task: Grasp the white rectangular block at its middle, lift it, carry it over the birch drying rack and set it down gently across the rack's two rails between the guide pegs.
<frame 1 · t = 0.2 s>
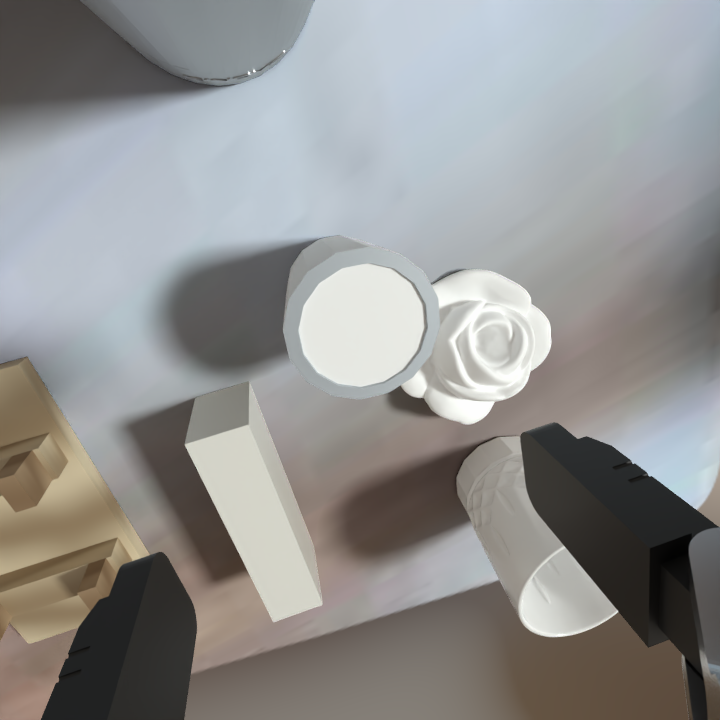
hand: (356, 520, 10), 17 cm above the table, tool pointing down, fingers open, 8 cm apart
rose: (462, 340, 29), on the table
white rectangular block: (261, 478, 30), on the table
white cup: (496, 471, 34), on the table
white short tapered cylinder: (337, 285, 26), on the table
rack: (31, 511, 27), on the table
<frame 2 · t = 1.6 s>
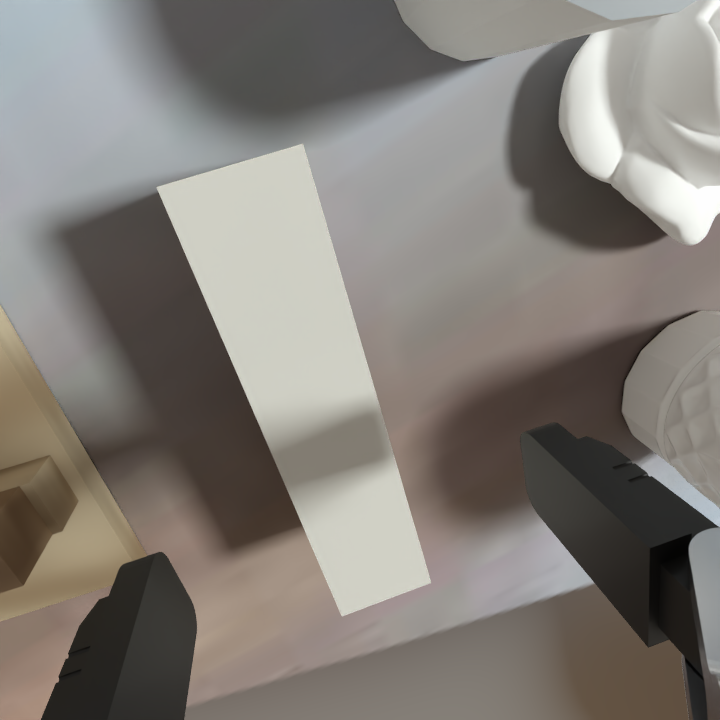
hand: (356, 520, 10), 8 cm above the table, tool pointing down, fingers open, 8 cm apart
rose: (663, 100, 16), on the table
white rectangular block: (309, 362, 17), on the table
white cup: (682, 378, 21), on the table
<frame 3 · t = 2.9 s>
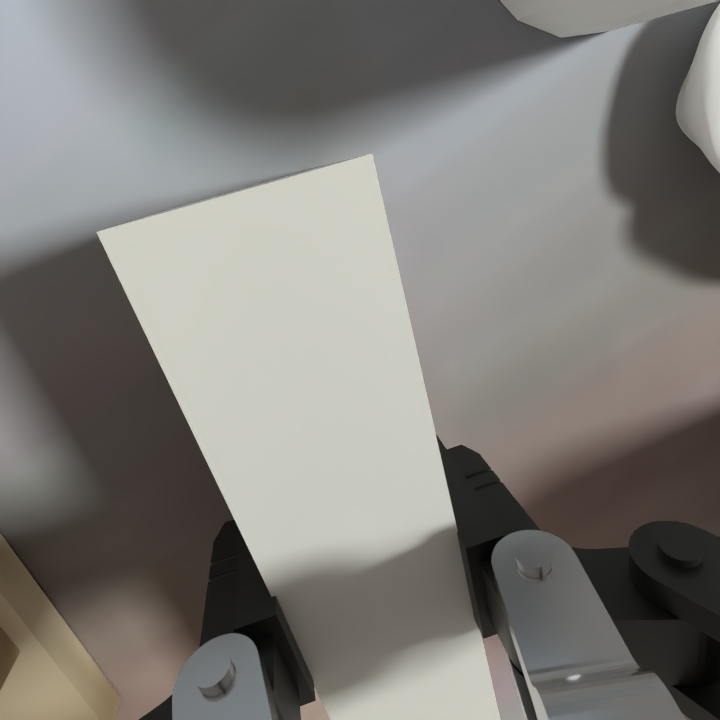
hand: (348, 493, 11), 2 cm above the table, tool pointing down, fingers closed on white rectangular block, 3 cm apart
white rectangular block: (338, 452, 13), on the table, touching gripper
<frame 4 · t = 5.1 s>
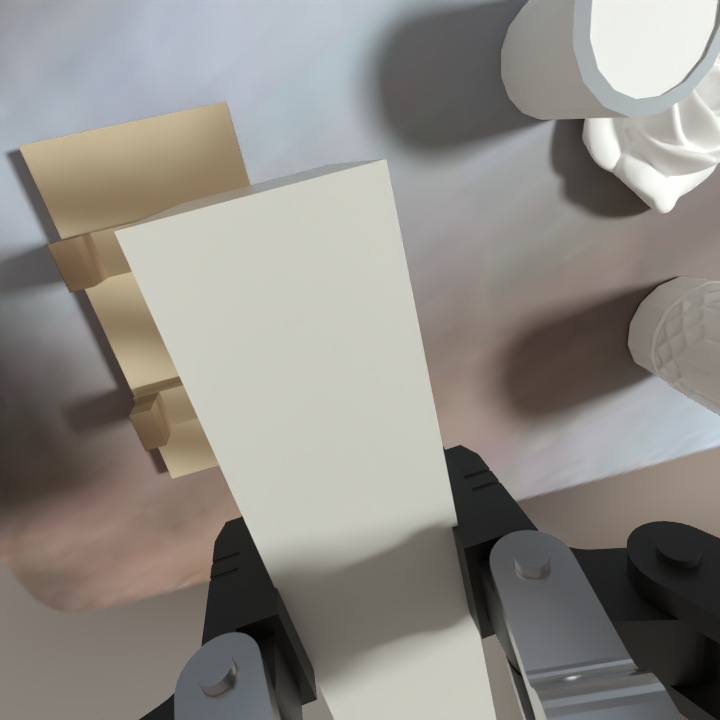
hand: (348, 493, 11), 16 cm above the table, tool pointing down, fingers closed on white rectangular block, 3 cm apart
rose: (646, 123, 26), on the table
white rectangular block: (338, 448, 13), point 14 cm above the table, touching gripper
white cup: (668, 324, 31), on the table
white short tapered cylinder: (549, 59, 24), on the table
rack: (198, 309, 25), on the table
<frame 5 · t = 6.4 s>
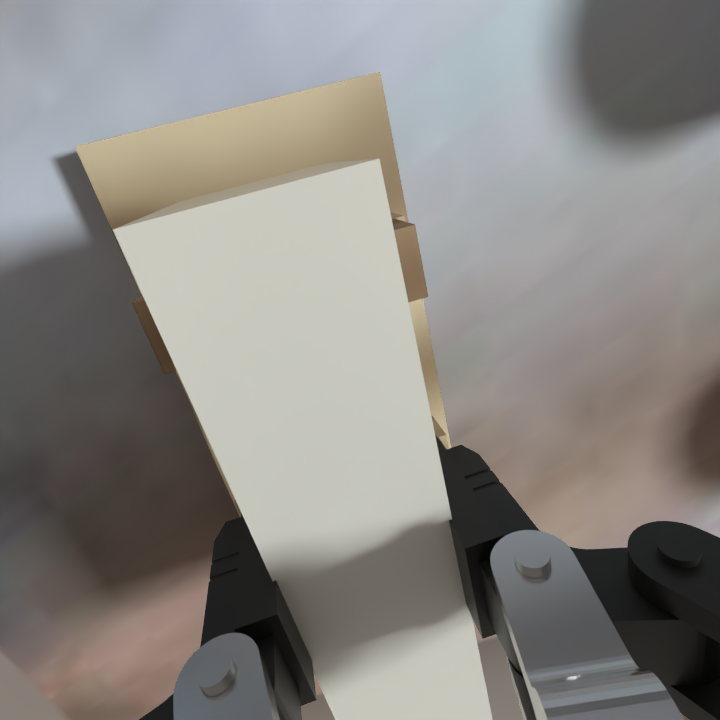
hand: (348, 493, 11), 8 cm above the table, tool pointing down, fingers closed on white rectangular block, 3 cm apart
white rectangular block: (335, 444, 13), point 5 cm above the table, touching gripper
rack: (313, 369, 18), on the table
when the fingers open (5 cm above the table, at t = 7.2 s): white rectangular block stays where it is, resting on rack.
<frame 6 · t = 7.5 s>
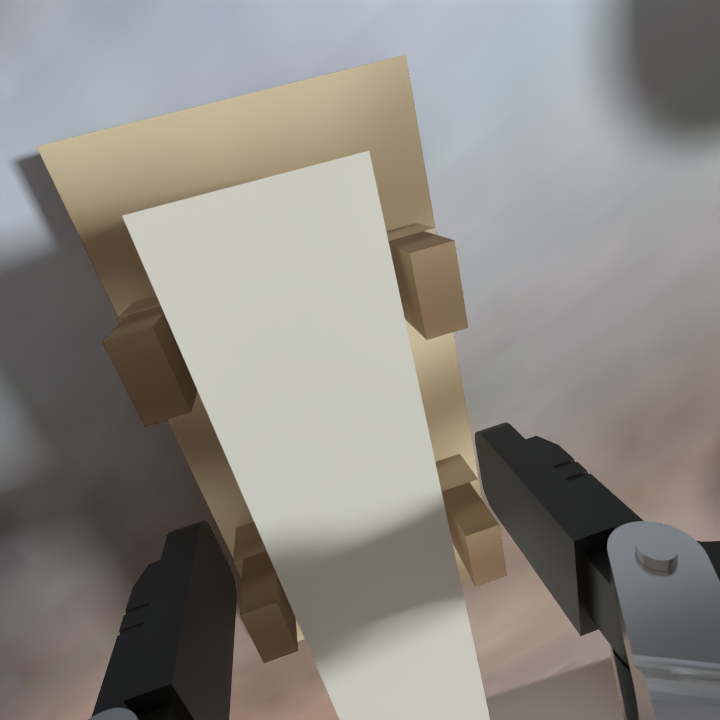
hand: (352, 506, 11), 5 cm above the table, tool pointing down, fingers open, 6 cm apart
white rectangular block: (334, 437, 13), point 2 cm above the table, touching rack
rack: (323, 402, 15), on the table
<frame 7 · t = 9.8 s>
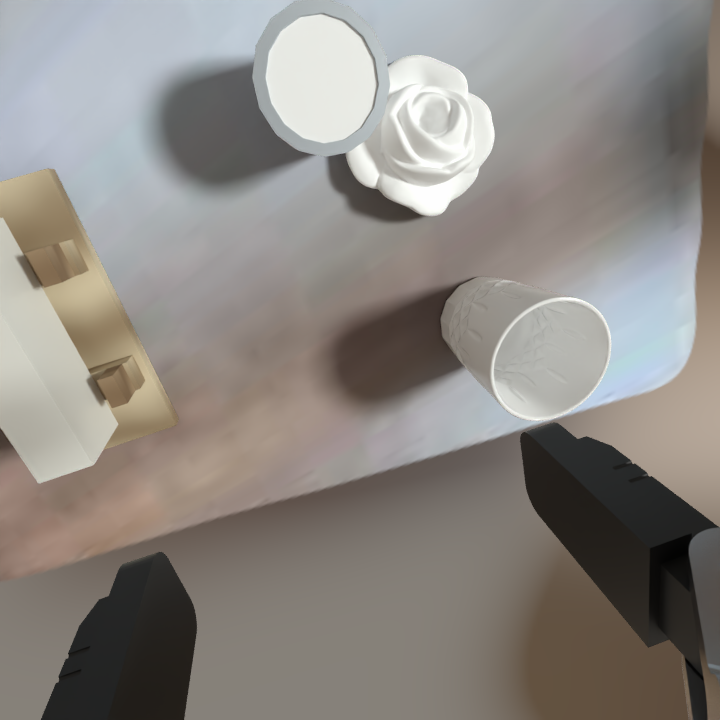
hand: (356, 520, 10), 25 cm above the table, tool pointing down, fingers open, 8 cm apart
rose: (412, 142, 32), on the table
white rectangular block: (40, 338, 29), point 2 cm above the table, touching rack
white cup: (478, 317, 37), on the table
white short tapered cylinder: (309, 104, 29), on the table
rack: (57, 328, 31), on the table
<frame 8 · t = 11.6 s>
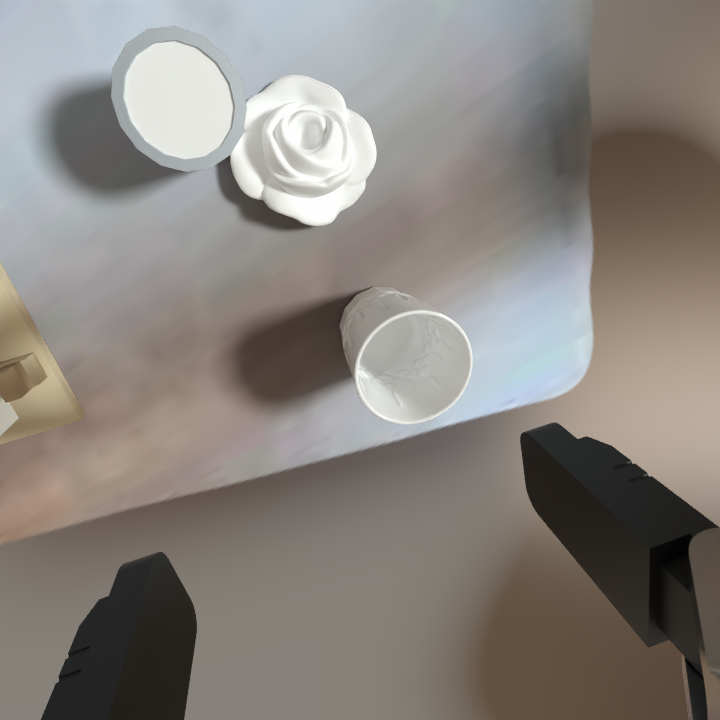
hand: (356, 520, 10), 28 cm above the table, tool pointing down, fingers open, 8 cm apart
rose: (301, 156, 33), on the table
white cup: (378, 324, 39), on the table
white short tapered cylinder: (197, 118, 31), on the table
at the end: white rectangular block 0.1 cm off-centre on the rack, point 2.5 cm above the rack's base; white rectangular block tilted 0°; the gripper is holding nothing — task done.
